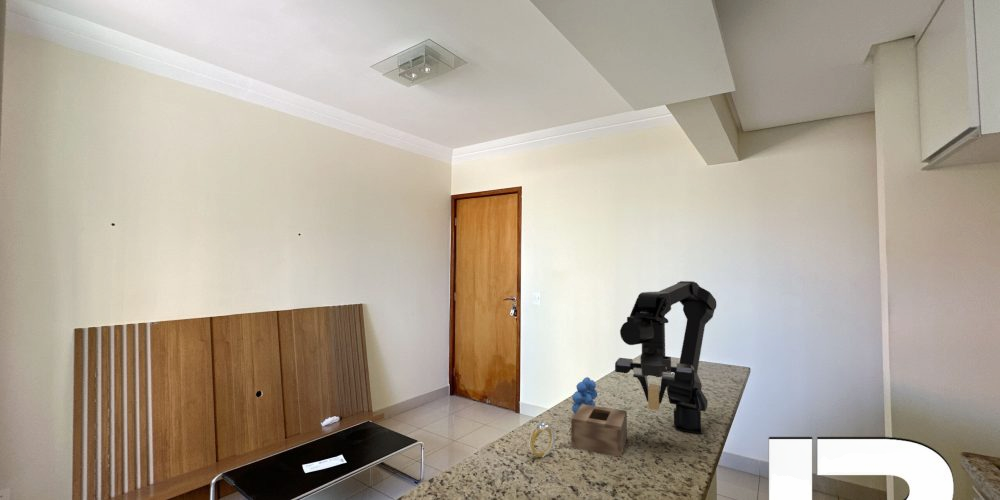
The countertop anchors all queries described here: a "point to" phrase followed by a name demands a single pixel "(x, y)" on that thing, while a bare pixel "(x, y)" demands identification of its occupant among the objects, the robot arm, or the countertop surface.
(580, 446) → the box
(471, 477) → the countertop surface
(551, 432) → the ring
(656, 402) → the tan flat block
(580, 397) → the grapes
